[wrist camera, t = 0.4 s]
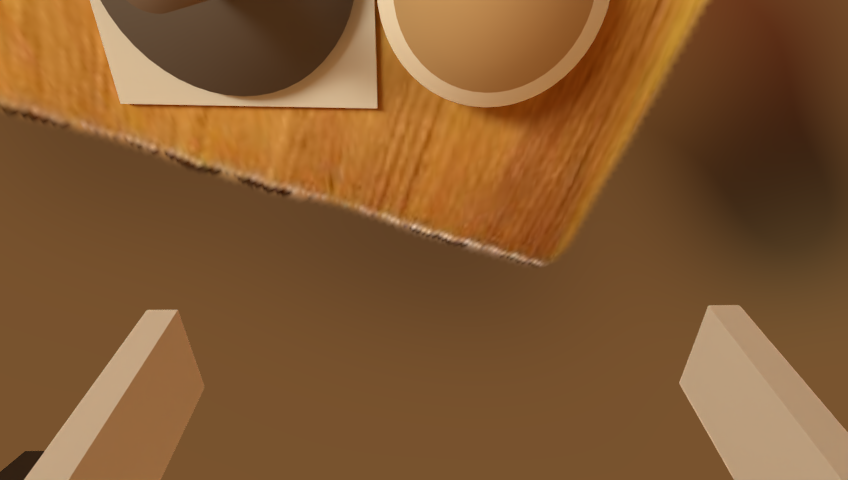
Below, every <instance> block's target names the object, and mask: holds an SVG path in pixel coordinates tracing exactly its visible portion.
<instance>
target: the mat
mask: <svg viewBox="0 0 848 480" xmlns="http://www.w3.org/2000/svg"><path fill="white" fill-rule="evenodd" d="M90 2H91V6H92V9H93V12H94V16H95V19H96V22H97V26H98V29H99V32H100V36H101V39H102V43H103V46H104V49H105V53H106V56H107V59H108V63H109V66H110V69H111V73H112V76H113V80H114V83H115V86H116V90H117V93H118V96H119V100H120V103H121V104H162V105H217V106H271V107H325V108H378V91H377V55H376V19H375V0H354V2H353V6H352V10H351V14H350V17H349V20H348V22H347V25H346V27H345V30H344V32H343V34H342V36H341V37H340V39H339V41H338V43H337V44H336V46H335V47H334V49H333V50H332V51H331V52H330V54H329V55H328V56H327V58H326V59H325V60H324V61H323V63H322V64H320V65H319V66H318V67H317V68H316V69H315V70H314V71H313V72H312V73H311V74H309V75H308V76H307V77H305V78H304V79H302V80H301V81H299V82H298V83H296V84H294V85H292V86H290V87H288V88H285V89H282V90H279V91H277V92H274V93H269V94H264V95H258V96H231V95H223V94H218V93H214V92H209V91H206V90H203V89H200V88H197V87H194V86H192V85H190V84H188V83H186V82H184V81H182V80H179V79H178V78H176V77H174V76H173V75H171V74H169V73H168V72H166V71H164V70H163V69H161V68H160V67H159V66H157V65H156V64H155V63H153V62H152V61H151V60H149V59H148V58H147V57H146V56H145V55H144V54H143V53H142V52H140V51H139V50H138V49H137V48H136V47H135V46H134V45H133V44H132V43H131V42H130V41H129V39H128V38H127V37H126V36H125V35H124V34H123V33H122V32H121V30H120V29H119V28H118V26H117V25H116V24H115V22H114V21H113V20H112V18H111V17H110V15H109V14H108V12H107V11H106V9H105V7H104V6H103V4H102V2H101V1H100V0H90Z"/></svg>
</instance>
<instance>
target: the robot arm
mask: <svg viewBox="0 0 848 480" xmlns="http://www.w3.org/2000/svg"><path fill="white" fill-rule="evenodd" d="M679 384H680V386H681V387H682V389H683V391H684V393H685V394H686V396H687V398H688V399H689V401H690V403H691V405H692V407H693V408H694V410H695V412H696V414H697V415H698V417H699V419H700V421H701V422H702V424H703V426H704V428H705V430H706V431H707V433H708V435H709V437H710V438H711V440H712V442H713V444H714V445H715V447H716V449H717V451H718V452H719V454H720V456H721V457H722V459H723V461H724V463H725V465H726V466H727V468H728V470H729V472H730V473H731V475H732V477H733V479H734V480H848V432H847V431H846V430H845V429H844V428H843V427H842V425H841V424H840V423H839V422H838V421H837V420H836V418H835V417H834V416H833V415H832V414H831V412H830V411H829V410H828V409H827V408H826V407H825V406H824V404H823V403H822V402H821V401H820V399H819V398H818V397H817V396H816V395H815V394H814V393H813V391H812V390H811V389H810V388H809V387H808V386H807V384H806V383H805V382H804V381H803V379H802V378H801V377H800V376H799V375H798V374H797V372H796V371H795V370H794V369H793V368H792V366H791V365H790V364H789V363H788V362H787V361H786V359H785V358H784V357H783V356H782V355H781V354H780V352H779V351H778V350H777V349H776V348H775V346H774V345H773V344H772V343H771V342H770V341H769V339H768V338H767V337H766V336H765V335H764V333H763V332H762V331H761V330H760V329H759V328H758V327H757V325H756V324H755V323H754V322H753V321H752V319H751V318H750V317H749V316H748V315H747V314H746V312H745V311H744V310H743V309H742V308H741V307H740V305H709V306H708V308H707V311H706V313H705V316H704V319H703V321H702V324H701V326H700V329H699V332H698V334H697V337H696V340H695V342H694V345H693V348H692V350H691V353H690V355H689V358H688V361H687V364H686V366H685V369H684V372H683V374H682V377H681V380H680V382H679ZM203 389H204V384H203V381H202V378H201V375H200V373H199V370H198V367H197V364H196V361H195V358H194V355H193V352H192V349H191V346H190V344H189V341H188V338H187V335H186V332H185V329H184V327H183V324H182V320H181V318H180V315H179V312H178V310H147V311H146V312H145V314H144V315H143V316H142V318H141V319H140V320H139V322H138V323H137V325H136V326H135V327H134V329H133V330H132V331H131V333H130V334H129V335H128V337H127V338H126V340H125V341H124V342H123V344H122V345H121V347H120V348H119V349H118V351H117V352H116V353H115V355H114V356H113V358H112V359H111V360H110V362H109V363H108V364H107V366H106V367H105V369H104V370H103V371H102V373H101V374H100V376H99V377H98V378H97V380H96V381H95V383H94V384H93V385H92V387H91V388H90V389H89V391H88V392H87V394H86V395H85V396H84V398H83V399H82V400H81V402H80V403H79V405H78V406H77V407H76V409H75V410H74V411H73V413H72V414H71V416H70V417H69V418H68V420H67V421H66V422H65V424H64V425H63V427H62V428H61V430H60V431H59V432H58V434H57V435H56V436H55V438H54V439H53V440H52V442H51V443H50V445H49V446H48V447H47V449H46V450H45V451H25V452H24V453H23V454H21V455H20V456H19V457H18V458H17V459H15V460H14V461H13V462H12V463H10V464H9V465H8V466H7V467H6V468H4V469H3V470H2V471H1V472H0V480H160V479H161V477H162V476H163V473H164V471H165V469H166V467H167V465H168V463H169V461H170V459H171V457H172V455H173V452H174V450H175V448H176V446H177V444H178V442H179V440H180V438H181V436H182V433H183V431H184V429H185V427H186V425H187V423H188V421H189V419H190V417H191V415H192V412H193V410H194V408H195V406H196V404H197V402H198V400H199V398H200V396H201V394H202V391H203Z"/></svg>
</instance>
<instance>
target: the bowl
mask: <svg viewBox="0 0 848 480" xmlns="http://www.w3.org/2000/svg"><path fill="white" fill-rule="evenodd" d="M377 2H378V9H379V13H380V18H381V22H382V25H383V28H384V31H385V34H386V37H387V39H388V41H389V43H390V45H391V47H392V50H393V51H394V53H395V54H396V56H397V58H398V59H399V61H400V62H401V64H402V65H403V66H404V67H405V68H406V70H407V71H408V72H409V73H410V74H411V75H412V76H413V77H414V78H415V79H416V80H417V81H418V82H419V83H420V84H422V85H423V86H424V87H426V88H427V89H429V90H430V91H431V92H433V93H435V94H437V95H439V96H441V97H443V98H444V99H447V100H450V101H453V102H455V103H458V104H463V105H467V106H474V107H500V106H506V105H511V104H515V103H518V102H521V101H525V100H527V99H529V98H532V97H534V96H536V95H538V94H540V93H542V92H543V91H545V90H547V89H548V88H550V87H552V86H553V85H554V84H556V83H557V82H558V81H560V80H561V79H562V78H563V77H565V76H566V75H567V74H568V73H569V72H570V71H571V70H572V69H573V68H574V67H575V66H576V65H577V63H578V62H579V61H580V60H581V58H582V57H583V56H584V55H585V53H586V52H587V50H588V49H589V47H590V46H591V44H592V43H593V41H594V39H595V37H596V35H597V34H598V32H599V30H600V28H601V26H602V23H603V20H604V18H605V15H606V12H607V10H608V6H609V2H610V0H377Z"/></svg>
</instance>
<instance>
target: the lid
mask: <svg viewBox="0 0 848 480" xmlns="http://www.w3.org/2000/svg"><path fill="white" fill-rule="evenodd" d="M100 1H101V2H102V4H103V6H104V7H105V9H106V11H107V12H108V14H109V15H110V17H111V18H112V20H113V21H114V22H115V24H116V25H117V26H118V28H119V29H120V30H121V32H122V33H123V34H124V35H125V36H126V37H127V38H128V39H129V41H130V42H131V43H132V44H133V45H134V46H135V47H136V48H137V49H138V50H139V51H140V52H142V53H143V54H144V55H145V56H146V57H147V58H148V59H149V60H151V61H152V62H153V63H155V64H156V65H157V66H159V67H160V68H161V69H163V70H164V71H166V72H168V73H169V74H171V75H173V76H174V77H176V78H178V79H179V80H182V81H184V82H186V83H188V84H190V85H192V86H194V87H197V88H200V89H203V90H206V91H209V92H214V93H218V94H223V95H231V96H258V95H264V94H269V93H274V92H277V91H279V90H282V89H285V88H288V87H290V86H292V85H294V84H296V83H298V82H299V81H301V80H302V79H304V78H305V77H307V76H308V75H309V74H311V73H312V72H313V71H314V70H315V69H316V68H317V67H318V66H319V65H320V64H322V63H323V61H324V60H325V59H326V58H327V56H328V55H329V54H330V52H331V51H332V50H333V49H334V47H335V46H336V44H337V43H338V41H339V39H340V37H341V36H342V34H343V32H344V30H345V27H346V25H347V22H348V20H349V17H350V14H351V10H352V6H353V2H354V0H100Z"/></svg>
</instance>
